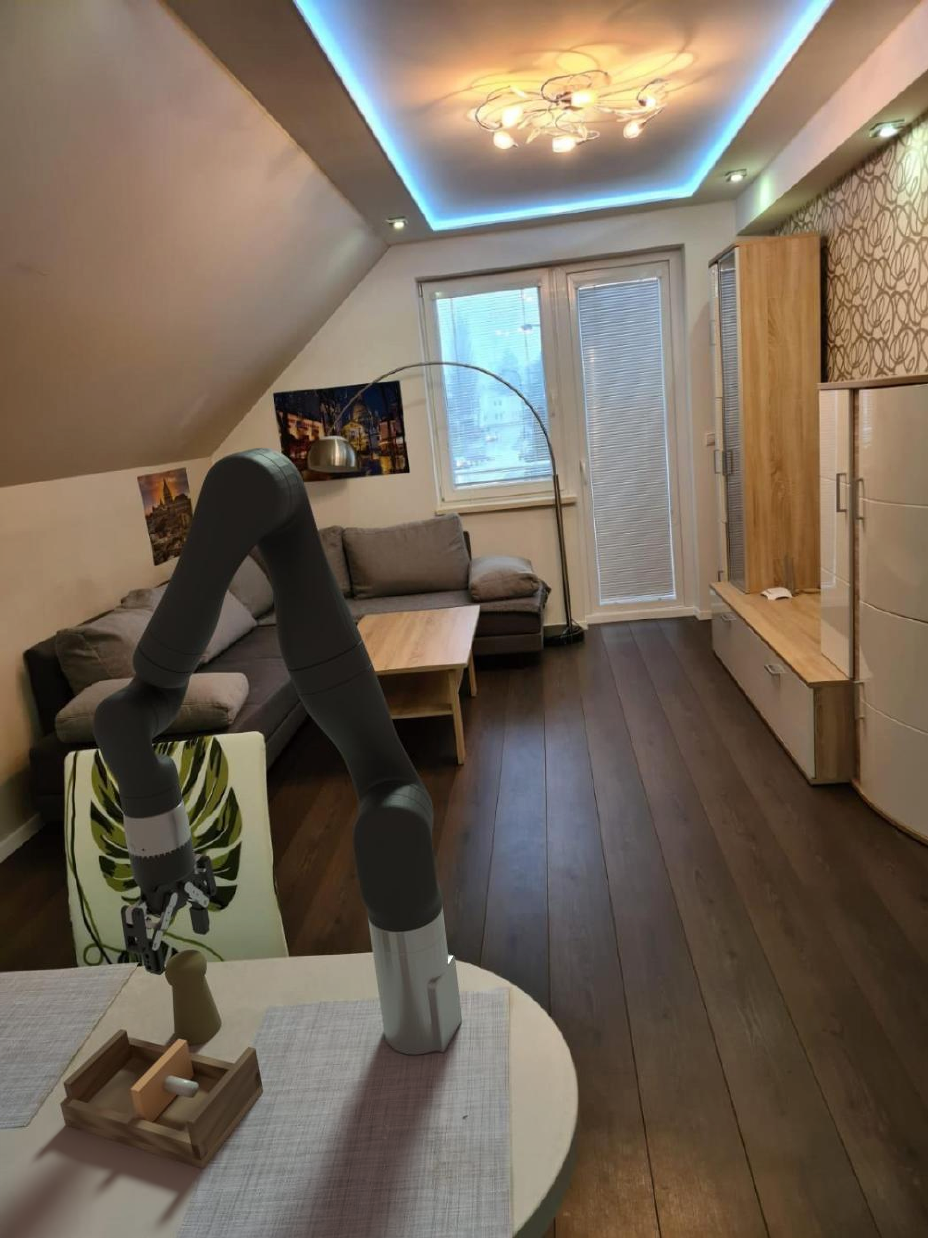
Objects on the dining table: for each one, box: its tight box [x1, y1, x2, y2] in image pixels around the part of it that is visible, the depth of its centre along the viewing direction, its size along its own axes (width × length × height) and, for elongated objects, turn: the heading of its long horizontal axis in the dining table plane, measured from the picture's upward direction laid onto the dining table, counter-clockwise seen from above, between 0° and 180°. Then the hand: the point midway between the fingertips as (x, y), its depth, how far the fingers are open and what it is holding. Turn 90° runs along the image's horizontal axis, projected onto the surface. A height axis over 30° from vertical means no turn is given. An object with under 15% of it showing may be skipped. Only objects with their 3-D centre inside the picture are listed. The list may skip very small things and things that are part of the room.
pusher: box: [131, 1039, 198, 1122], centre depth 97 cm, size 5×8×5 cm, turn 158°
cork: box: [164, 949, 222, 1047], centre depth 110 cm, size 6×6×11 cm
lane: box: [59, 1028, 264, 1169], centre depth 98 cm, size 20×11×6 cm, turn 68°
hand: (180, 951), depth 109 cm, fingers open, 8 cm apart
